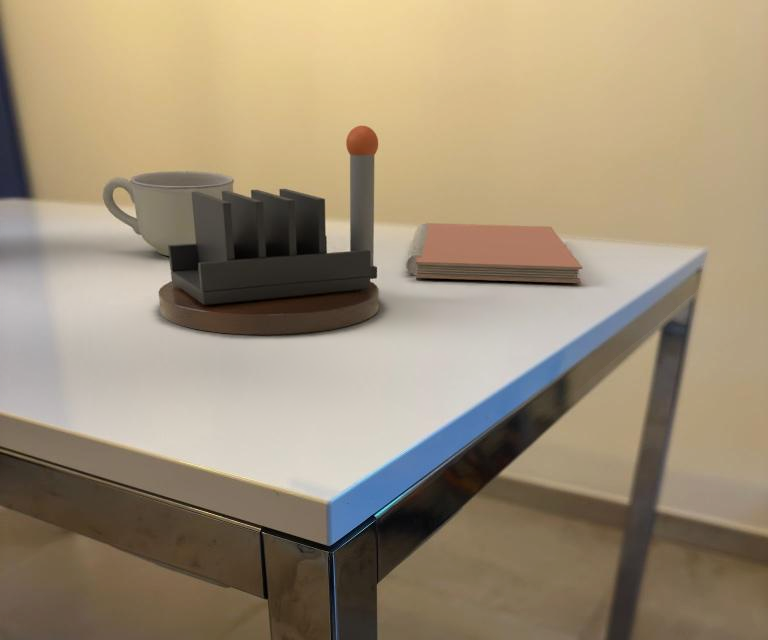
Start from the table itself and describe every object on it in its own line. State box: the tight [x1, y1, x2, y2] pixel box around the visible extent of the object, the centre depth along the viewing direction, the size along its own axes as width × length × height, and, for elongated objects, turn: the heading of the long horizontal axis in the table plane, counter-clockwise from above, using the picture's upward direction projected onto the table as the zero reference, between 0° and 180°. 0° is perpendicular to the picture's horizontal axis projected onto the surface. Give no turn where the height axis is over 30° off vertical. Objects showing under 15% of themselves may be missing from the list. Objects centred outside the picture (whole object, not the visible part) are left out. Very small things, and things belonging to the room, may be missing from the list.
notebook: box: [405, 222, 583, 284], centre depth 87 cm, size 27×17×2 cm, turn 175°
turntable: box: [158, 280, 380, 336], centre depth 65 cm, size 18×18×2 cm
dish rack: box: [168, 125, 379, 305], centre depth 62 cm, size 17×9×12 cm, turn 118°
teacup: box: [102, 170, 235, 257], centre depth 85 cm, size 14×11×8 cm
